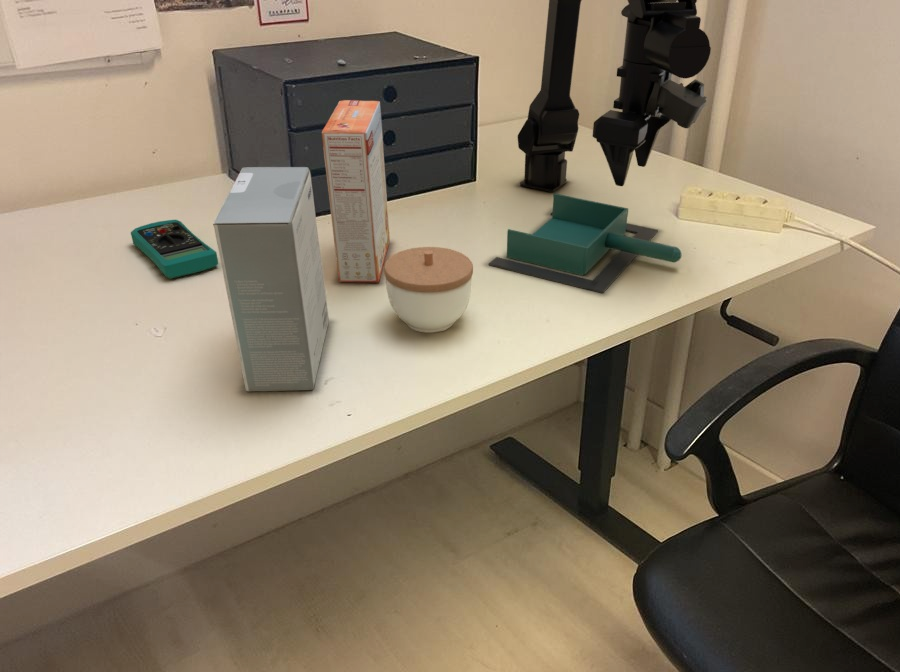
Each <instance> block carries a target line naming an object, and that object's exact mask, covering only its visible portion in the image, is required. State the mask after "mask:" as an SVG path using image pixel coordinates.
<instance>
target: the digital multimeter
mask: <svg viewBox="0 0 900 672" xmlns="http://www.w3.org/2000/svg"><path fill="white" fill-rule="evenodd" d="M130 236H131V241H132V244H133V245H134V246H135V247H137V248H138V250H140V251H141V252H142V253H144V255H145V256H147V258H149V260H151V261H152V262H153V263H154V265H155V266H156V267H157V268H158V269H159V270H160V271H161V273H162V274H163V275H164V276H165V277H166V278H168V279H176V278H180V277H183V276H189V275H193V274H196V273H200V272H203V271H207V270H211V269H213V268H216V267H217V266H218V265H219V258H218V253H217V251H216V250H215V249H213V248H212V247H210V246H209V245H208V244H206V243H205V242H204V241H202V240H201V239H200V238H199V237H198V236H196V235H195V234H194V233H193V232H192V231H191V230H190V229H189V228H188V227H187V226H186V225H185V224H184V223H183V222H182V221H180V220H178V219H168V220H161V221H155V222H151V223H147V224H143V225H140V226H138V227H136V228H134V229H132V230H131V231H130Z"/></svg>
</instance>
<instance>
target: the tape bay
mask: <svg viewBox="0 0 900 672" xmlns="http://www.w3.org/2000/svg"><path fill="white" fill-rule="evenodd" d="M552 214H553V211H552V212H551V213H550V216H552ZM626 232H628V233H633V234H634V236H633V237H632V238H637V239H642V240H646V241H651V240H652V239H653V238H654V236H656V234H657V233H658V232H659V229H655V228H651V227H647V226H641V225H636V224H632V223H628V222H627V225H626ZM636 256H638V254H633V253H629V252H624V251H620V250H619V252H618V253H616V255H615V256H614V257H613V258H612V259H611V260H610V261H609V262H608V263H607V264H606V265H605V266H604V268H602V269H601V271H600V272H599V273H598V274H597V275H596V276H594V278H593V279H590V278H585V277H582V276H577V275H572V274H569V273H564V272H560V271H558V270H553V269H552V270H551V269H548V268H545V267H539V266H535V265H531V264H527V263H523V262H518V261H514V260H511V259H507V258H502V257H498V256H496V257H495V258H493V259H492V260H491V261H490V262H488V266H491V267H494V268H498V269H503V270H506V271H511V272H514V273H519V274H523V275H526V276H531V277H535V278H539V279H544V280H547V281H552V282H555V283H558V284H564V285H567V286H572V287H575V288H578V289H579V288H581V289H583V290H587V291H592V292H596V293H598V294H599V293H600V294H604V293H605V292H606V291H607V289H608V288H609V287H610V286H611V285H612V284H613V283H614V281H616V279H617V278H618V277H619V276H620V275H621V274H622V273H623V272H624V271H625V269H626V268H627V267H628V266H629V265H630V264H631V263H632V261H633V260H635V258H636Z"/></svg>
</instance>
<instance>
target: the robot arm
mask: <svg viewBox="0 0 900 672" xmlns="http://www.w3.org/2000/svg"><path fill="white" fill-rule="evenodd" d="M582 1H583V0H548V9H547V18H546V19H547V20H546V31H545V41H544V43H545V44H544V50H543V51H544V52H543V61H542V71H541V73H542V74H541V84H540V90H539V92H538V93H537V94H536V96H535V97H534V98H533V100H532V101H531V103H530V104H529V107H528V113H527V119H526V120H525V121H524V124H522V127H521V129H520V131H519V132H518V134H517V147H518V149H519V150H521V152H522V153H524V177H523V179H524V180H522V181H520V182H519V186H521V187H525V188H530V189H535V190H539V191H543V192H550V193H554V192H555V191H557V190H558V189H560V188H561V187H562V186H563V185H565V184H566V183H567V182H568V179H567V170H568V160H567V158H566V152H570V153H571V152H573V151H574V148H575V144H576V140H577V136H578V132H579V119H580V112H579V109H577V108H576V106H575V104H574V102H573V100H572V97H571V89H572V80H573V72H574V64H575V63H574V62H575V56H576V55H575V54H576V47H577V46H576V45H577V37H578V29H579V22H580V21H579V20H580V11H581V4H582ZM697 2H698V0H627V3H628V4H627V5H625V6H624V7H623V8H622V10H621V12H620V15H621V16H622V17H625V18H627V20H626V27H625V28H626V29H625V38H624V48H623V57H622V65H620V66H619V67H617V68H616V77H619V78H620V85H619V92H618V93H619V94H618V97H617V98H615V99H614V100H613V105H612V106H613V107H612V109H613V110H612V109H610V110H608V111H606V112H605V113H603V114H601V116H599V117H598V118H597V119H596V120H594V121H593V124H592V125H593V127H592V138H594V139H595V140H596V142H597V143H599V146H600V148H601V150H602V152H603V154H604V156H605V159H606V162H607V165H608V167H609V170H610V173H611V176H612V178H613V182H614V184H615V186H617V187H624V186H625V183H626V180H627V177H628V174H629V169H630V166H631V163H632V158H633V156H634V153H635V160H636V164H637V166H638V167H640V168H641V167H642V168H645V167H646V166H647V164H648V161H649V159H650V156H651V153H652V150H653V148H654V146H655V143H656V141H657V138H658V135H659V133H660V130H661V129H662V128H663V127H664V126H665V125H667V124H668V123H669V122H671V121H674V122H675V123H676V124H677V125H678V126H679V127H681V128H683V129H690V128H691V127H692V125H693V124H695V123H696V122H697V120H698V118H699V116H700V114H701V112H702V111H703V109H704V108H705V107H706V103H707V98H708V97H707V96H705V83H703V82H702V81H700V80H698V79H696V78H695V79H694V80H692V81H691V82H689V83H688V84H687V85H685V86H684V83H682V82H680V83H677V82H675V81H674V80H672V75H673V76H675V77H677V78H679V79H683V80H684V79H690V78H693V77H695V76H697V75H699V74H700V73H701V72H702V71H703V70H704V68H705V67H706V65H707V63H708V61H709V59H710V56H711V49H712V47H711V44H710V40H709V36H708V34H707V33H706V32H705V31H704V30H703V29H701V28H700V27H701V21H702V18H701V17H700V16H698V15H697V13H698V10H697V5H696V4H697ZM614 109H615V110H614ZM619 110H621V111H619Z"/></svg>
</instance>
